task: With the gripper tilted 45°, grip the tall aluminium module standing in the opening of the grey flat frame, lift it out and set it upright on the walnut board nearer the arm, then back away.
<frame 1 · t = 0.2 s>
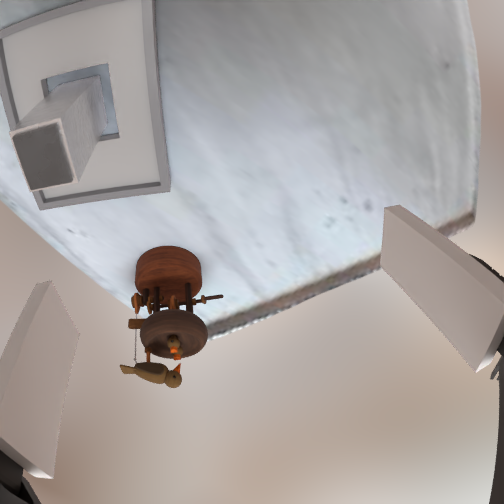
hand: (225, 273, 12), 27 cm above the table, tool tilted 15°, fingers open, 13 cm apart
music box: (172, 267, 51), on the table
grey flat frame: (83, 103, 30), on the table
module: (83, 103, 30), resting in grey flat frame
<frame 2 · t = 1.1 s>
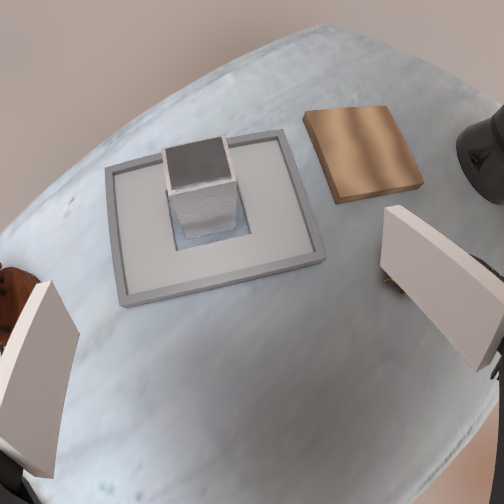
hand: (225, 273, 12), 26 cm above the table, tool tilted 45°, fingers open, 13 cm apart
music box: (22, 314, 35), on the table
grey flat frame: (207, 215, 40), on the table
module: (207, 215, 40), resting in grey flat frame
board: (362, 152, 44), on the table
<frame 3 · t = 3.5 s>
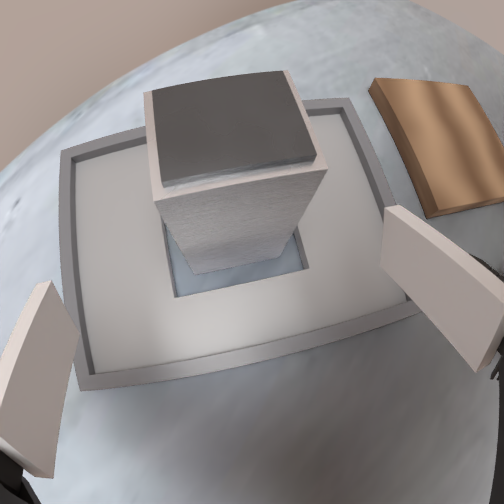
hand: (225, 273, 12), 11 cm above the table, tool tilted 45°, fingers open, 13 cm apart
grey flat frame: (229, 232, 23), on the table
module: (229, 232, 23), resting in grey flat frame
board: (449, 144, 27), on the table
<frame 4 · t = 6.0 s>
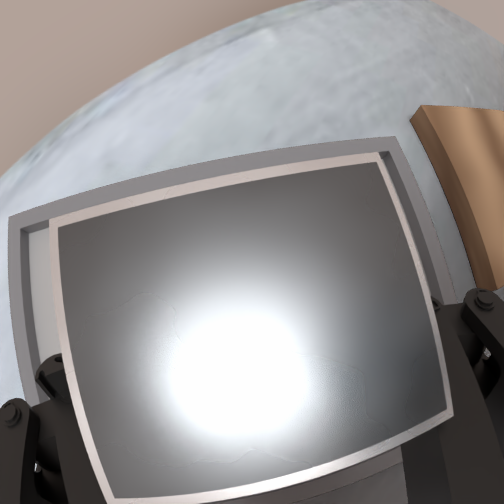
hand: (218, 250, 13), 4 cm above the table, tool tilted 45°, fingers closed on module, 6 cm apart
grey flat frame: (237, 338, 17), on the table
module: (237, 338, 17), resting in grey flat frame, touching gripper
board: (500, 190, 21), on the table
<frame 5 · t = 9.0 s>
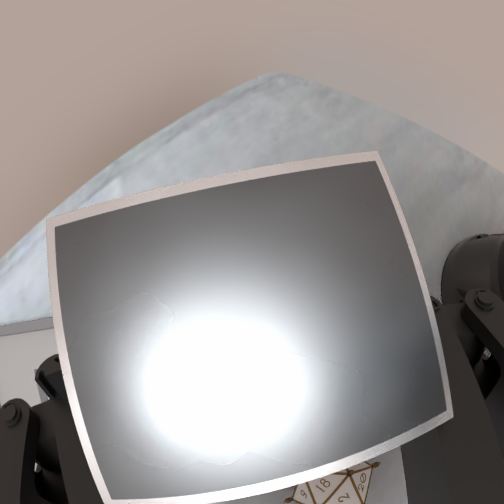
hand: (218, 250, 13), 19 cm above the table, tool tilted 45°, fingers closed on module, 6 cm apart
game die: (320, 470, 28), on the table
grey flat frame: (81, 401, 28), on the table
module: (237, 338, 17), point 15 cm above the table, touching gripper
when the fingers open (7 cm above the table, at t = 12.5 s): module stays where it is, resting on board.
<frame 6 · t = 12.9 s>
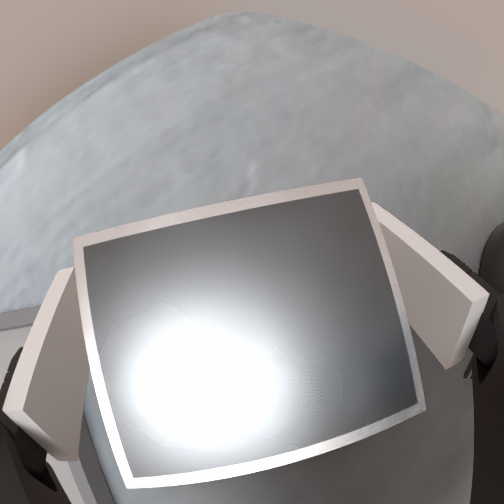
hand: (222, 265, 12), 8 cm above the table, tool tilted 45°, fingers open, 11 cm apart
module: (237, 338, 18), point 2 cm above the table, touching board
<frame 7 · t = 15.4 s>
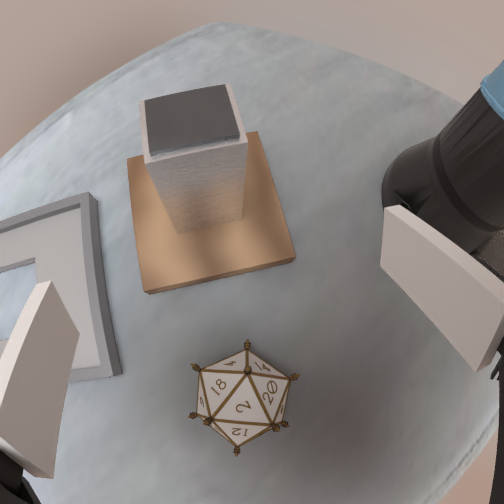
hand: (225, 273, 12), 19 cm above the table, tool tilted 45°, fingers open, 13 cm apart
game die: (240, 390, 28), on the table
grey flat frame: (14, 303, 28), on the table
module: (204, 202, 30), point 2 cm above the table, touching board
board: (205, 210, 32), on the table
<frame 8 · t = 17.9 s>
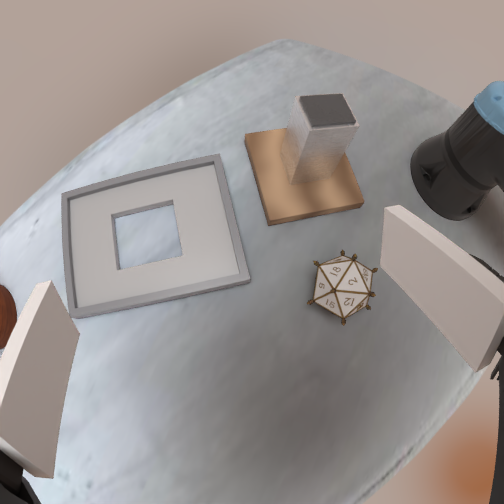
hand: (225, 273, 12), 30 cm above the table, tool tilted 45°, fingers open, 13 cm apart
game die: (333, 291, 42), on the table
grey flat frame: (147, 237, 42), on the table
module: (304, 166, 45), point 2 cm above the table, touching board
board: (301, 172, 46), on the table
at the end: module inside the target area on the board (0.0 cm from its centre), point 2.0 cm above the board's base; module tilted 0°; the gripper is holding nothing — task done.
